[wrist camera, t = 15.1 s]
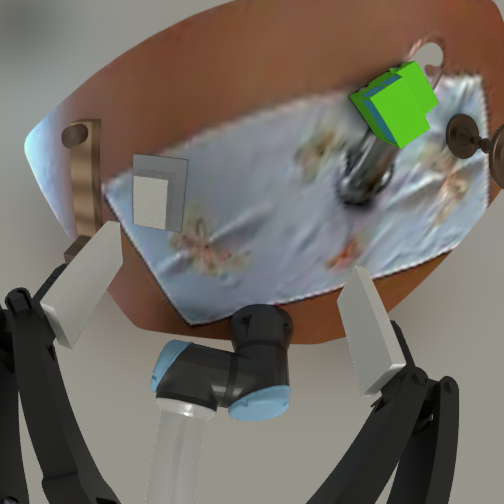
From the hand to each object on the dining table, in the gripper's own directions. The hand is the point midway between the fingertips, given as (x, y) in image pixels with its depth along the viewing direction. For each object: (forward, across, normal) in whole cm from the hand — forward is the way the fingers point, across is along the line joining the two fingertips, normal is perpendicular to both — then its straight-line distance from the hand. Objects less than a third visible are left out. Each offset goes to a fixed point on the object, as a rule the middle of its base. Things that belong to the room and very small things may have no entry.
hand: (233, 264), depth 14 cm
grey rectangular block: (+31, +15, +11) cm, 36 cm away
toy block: (+32, -20, -15) cm, 41 cm away
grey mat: (+32, +15, +11) cm, 37 cm away
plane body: (+32, +30, +11) cm, 45 cm away
